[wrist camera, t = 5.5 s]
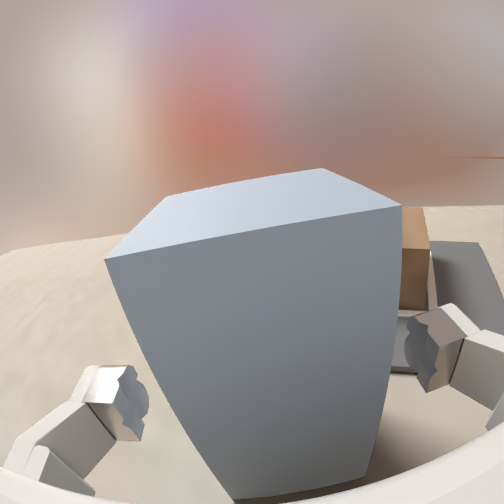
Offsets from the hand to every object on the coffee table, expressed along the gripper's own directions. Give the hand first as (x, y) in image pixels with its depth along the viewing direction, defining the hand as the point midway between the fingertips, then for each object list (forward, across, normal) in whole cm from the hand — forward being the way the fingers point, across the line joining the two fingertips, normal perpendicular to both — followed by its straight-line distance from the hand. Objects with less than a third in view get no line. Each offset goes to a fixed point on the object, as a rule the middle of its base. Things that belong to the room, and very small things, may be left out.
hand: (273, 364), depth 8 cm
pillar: (+1, 0, +6) cm, 6 cm away
